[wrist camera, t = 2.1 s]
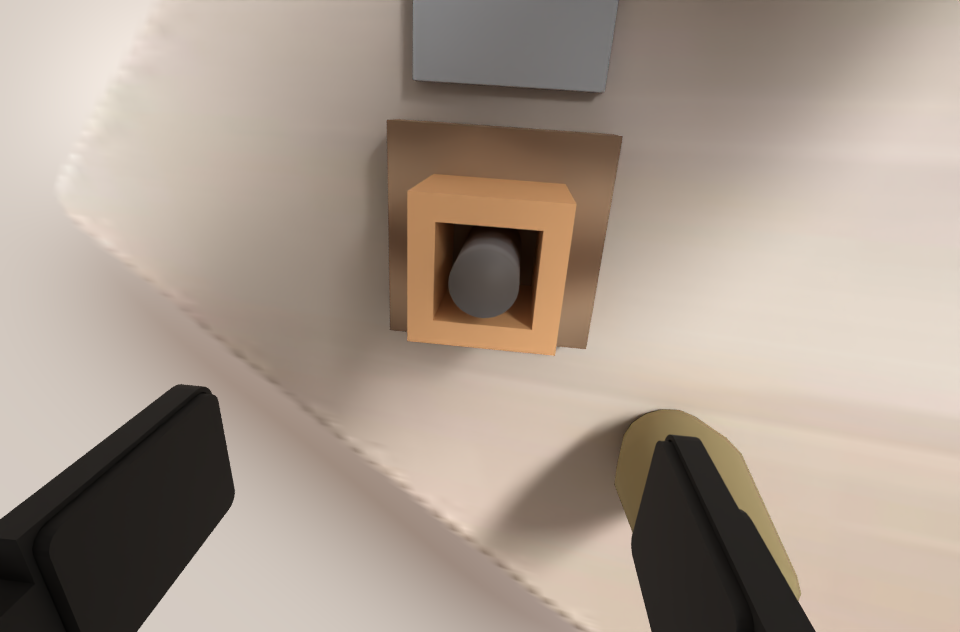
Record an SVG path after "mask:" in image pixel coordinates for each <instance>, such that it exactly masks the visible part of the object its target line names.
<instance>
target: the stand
mask: <svg viewBox="0 0 960 632" xmlns="http://www.w3.org/2000/svg"><path fill="white" fill-rule="evenodd" d="M622 137H623V136H619V135H614V134H601V133H587V132H573V131H558V130H544V129H530V128H515V127H501V126H487V125H473V124H458V123H444V122H430V121H416V120H401V119H395V120H387V162H388V224H389V285H390V330H395V331H405V332H407V191H408V190H410V189H411V188H413V187H414V186H416V185H417V184H419V183H420V182H422V181H423V180H425V179H427V178H428V177H430V176H431V175H433V174H442V175H455V176H468V177H481V178H494V179H507V180H520V181H533V182H546V183H559V184H566V186H567V187H568V189H569V191H570V193H571V195H572V197H573V199H574V200H575V202H576V204H577V205H576V212H575V219H574V226H573V233H572V240H571V247H570V254H569V261H568V268H567V275H566V282H565V289H564V296H563V303H562V310H561V317H560V324H559V330H558V337H557V344H556V346H559V347H570V348H580V349H586V345H587V340H588V334H589V328H590V322H591V317H592V311H593V305H594V299H595V293H596V288H597V282H598V276H599V270H600V265H601V259H602V253H603V247H604V241H605V236H606V230H607V224H608V218H609V212H610V207H611V201H612V195H613V189H614V184H615V178H616V172H617V166H618V160H619V155H620V149H621V143H622ZM536 237H537V230H527V229H514V228H502V227H490V226H478V225H466V224H454V237H453V262H452V270H451V272H450V275H449V281H448V287H449V292H450V295H451V297H452V300H453V301H454V303H455V304H456V305H457V306H458V307H459V308H460V309H461V310H462V311H463V312H465V313H467V314H469V315H471V316H474V317H478V318H491V317H496V316H498V315H501V314H503V313H504V312H506V311H507V310H508V309H509V308H510V307H511V306H512V305H513V303H514V302H515V300H516V298H517V295H518V292H519V285H527V286H531V281H532V272H533V263H534V255H535V246H536Z"/></svg>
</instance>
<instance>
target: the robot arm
mask: <svg viewBox="0 0 960 632" xmlns="http://www.w3.org/2000/svg"><path fill="white" fill-rule="evenodd" d="M234 494H235V489H234V484H233V478H232V473H231V468H230V462H229V457H228V451H227V446H226V440H225V435H224V429H223V424H222V418H221V413H220V408H219V402H218V399H217V397H216V396H215V395H213V394H212V393H211V391H210V390H209V389H208V388H207V387H202V386H192V385H182V384H181V385H176V386H174V387H173V388H171V389H170V390H168V391H167V392H166V393H165V394H163V395H162V396H161V397H159V398H158V399H157V400H155V401H154V402H153V403H151V404H150V405H149V406H148V407H146V408H145V409H144V410H142V411H141V412H140V413H138V414H137V415H136V416H135V417H133V418H132V419H131V420H129V421H128V422H127V423H126V424H124V425H123V426H122V427H120V428H119V429H118V430H116V431H115V432H114V433H113V434H111V435H110V436H108V437H107V438H106V439H104V440H103V441H102V442H101V443H99V444H98V445H97V446H95V447H94V448H93V449H91V450H90V451H89V452H88V453H86V454H85V455H84V456H82V457H81V458H80V459H78V460H77V461H76V462H75V463H73V464H72V465H71V466H69V467H68V468H67V469H65V470H64V471H63V472H61V473H60V474H59V475H58V476H56V477H55V478H54V479H52V480H51V481H50V482H48V483H47V484H46V485H44V486H43V487H42V488H41V489H39V490H38V491H37V492H36V493H34V494H33V495H31V496H30V497H29V498H28V499H26V500H25V501H24V502H22V503H21V504H20V505H18V506H17V507H16V508H14V509H13V510H12V511H11V512H9V513H8V514H7V515H5V516H4V517H3V518H2V519H0V632H137V631H138V629H139V628H140V627H141V625H142V624H143V622H145V620H146V619H147V617H148V616H149V615H150V613H151V612H152V611H153V610H154V608H155V607H156V606H157V604H158V603H159V602H160V600H161V599H162V598H163V596H164V595H165V594H166V592H167V591H168V589H169V588H170V587H171V586H172V584H173V583H174V582H175V580H176V579H177V578H178V576H179V575H180V574H181V572H182V571H183V570H184V568H185V567H186V566H187V564H188V563H189V562H190V560H191V559H192V558H193V556H194V555H195V554H196V552H197V551H198V550H199V548H200V547H201V546H202V544H203V543H204V542H205V540H206V539H207V538H208V536H209V535H210V534H211V532H212V531H213V530H214V528H215V527H216V526H217V524H218V523H219V522H220V520H221V519H222V518H223V517H224V515H225V514H226V513H227V511H228V510H229V508H230V507H231V505H232V503H233V500H234ZM631 549H632V556H633V560H634V564H635V568H636V572H637V576H638V580H639V584H640V587H641V591H642V595H643V599H644V603H645V607H646V611H647V615H648V619H649V623H650V627H651V631H652V632H815V630H814V628H813V626H812V625H811V623H810V621H809V619H808V618H807V616H806V614H805V612H804V611H803V609H802V607H801V605H800V604H799V602H798V600H797V598H796V597H795V595H794V593H793V591H792V590H791V588H790V586H789V584H788V583H787V581H786V579H785V577H784V576H783V574H782V572H781V570H780V569H779V567H778V565H777V563H776V562H775V560H774V558H773V556H772V555H771V553H770V551H769V549H768V548H767V546H766V544H765V542H764V541H763V539H762V537H761V535H760V534H759V532H758V530H757V528H756V527H755V525H754V523H753V521H752V520H751V518H750V517H749V516H748V514H747V513H746V512H744V511H743V510H741V509H739V508H738V506H737V504H736V502H735V501H734V499H733V497H732V495H731V493H730V492H729V490H728V488H727V486H726V484H725V483H724V481H723V479H722V477H721V475H720V474H719V472H718V470H717V468H716V466H715V465H714V463H713V461H712V459H711V457H710V456H709V454H708V452H707V450H706V448H705V447H704V445H703V443H702V441H701V440H700V439H699V438H697V437H691V436H681V435H671V434H670V435H667V437H666V438H665V441H658V442H657V443H656V445H655V449H654V453H653V457H652V460H651V464H650V468H649V472H648V476H647V480H646V484H645V487H644V491H643V495H642V499H641V503H640V507H639V511H638V514H637V518H636V522H635V526H634V530H633V534H632V540H631Z"/></svg>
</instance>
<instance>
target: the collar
mask: <svg viewBox="0 0 960 632" xmlns="http://www.w3.org/2000/svg"><path fill="white" fill-rule="evenodd" d="M576 205H577V204H576V202H575V200H574V199H573V197H572V195H571V193H570V191H569V189H568V187H567V186H566V184H559V183H546V182H533V181H520V180H507V179H494V178H481V177H468V176H455V175H442V174H433V175H431V176H430V177H428V178H427V179H425V180H423V181H422V182H420V183H419V184H417V185H416V186H414V187H413V188H411V189H410V190H408V191H407V341H412V342H423V343H433V344H443V345H453V346H463V347H473V348H483V349H494V350H504V351H514V352H524V353H534V354H544V355H554V356H555V351H556V344H557V337H558V330H559V324H560V317H561V310H562V303H563V296H564V289H565V282H566V275H567V268H568V261H569V254H570V247H571V240H572V233H573V226H574V219H575V212H576ZM454 224H466V225H478V226H490V227H502V228H514V229H527V230H537V237H536V246H535V255H534V263H533V272H532V281H531V286H527V285H519V292H518V295H517V298H516V300H515V302H514V303H513V305H512V306H511V307H510V308H509V309H508V310H507V311H506V312H504V313H503V314H501V315H498V316H496V317H491V318H478V317H474V316H471V315H469V314H467V313H465V312H463V311H462V310H461V309H460V308H459V307H458V306H457V305H456V304H455V303H454V301H453V300H452V297H451V295H450V292H449V287H448V281H449V275H450V272H451V270H452V262H453V237H454Z"/></svg>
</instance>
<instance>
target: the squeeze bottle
mask: <svg viewBox="0 0 960 632" xmlns="http://www.w3.org/2000/svg"><path fill="white" fill-rule="evenodd" d="M670 434H671V435H681V436H691V437H697V438H699V439H700V440H701V441H702V443H703V445H704V447H705V448H706V450H707V452H708V454H709V456H710V457H711V459H712V461H713V463H714V465H715V466H716V468H717V470H718V472H719V474H720V475H721V477H722V479H723V481H724V483H725V484H726V486H727V488H728V490H729V492H730V493H731V495H732V497H733V499H734V501H735V502H736V504H737V506H738V508H739V509H741V510H743V511H744V512H746V513H747V514H748V516H749V517H750V518H751V520H752V521H753V523H754V525H755V527H756V528H757V530H758V532H759V534H760V535H761V537H762V539H763V541H764V542H765V544H766V546H767V548H768V549H769V551H770V553H771V555H772V556H773V558H774V560H775V562H776V563H777V565H778V567H779V569H780V570H781V572H782V574H783V576H784V577H785V579H786V581H787V583H788V584H789V586H790V588H791V590H792V591H793V593H794V595H795V597H796V598H797V600H798V601H799V598H800V596H801V591H800V587H799V583H798V579H797V575H796V573H795V571H794V568H793V566H792V564H791V562H790V560H789V557H788V555H787V553H786V551H785V549H784V546H783V544H782V542H781V540H780V538H779V535H778V533H777V531H776V529H775V527H774V524H773V522H772V520H771V518H770V516H769V513H768V511H767V509H766V507H765V505H764V502H763V500H762V498H761V496H760V494H759V491H758V489H757V487H756V485H755V483H754V480H753V478H752V476H751V474H750V472H749V469H748V467H747V465H746V463H745V461H744V458H743V456H742V454H741V453H740V452H739V451H738V450H737V449H736V447H735V446H734V445H733V444H732V443H731V442H730V441H729V440H728V439H727V438H726V437H724V436H723V435H721V434H720V433H718V432H717V431H715V430H714V429H712V428H711V427H710V426H708V425H707V424H705V423H704V422H702V421H701V420H699V419H698V418H696V417H695V416H692V415H690V414H688V413H685V412H683V411H680V410H664V409H662V410H658V411H655V412H651V413H647V414H645V415H643V416H642V417H640V418H639V419H637V420H636V421H634V422H633V423H632V424H631V425H630V427H629V428H628V430H627V431H626V433H625V434H624V436H623V441H622V445H621V450H620V454H619V458H618V463H617V469H616V476H615V483H614V485H615V487H616V490H617V493H618V495H619V498H620V501H621V503H622V506H623V508H624V511H625V514H626V516H627V519H628V522H629V524H630V527H631V530H632V532H633V530H634V526H635V522H636V518H637V514H638V511H639V507H640V503H641V499H642V495H643V491H644V487H645V484H646V480H647V476H648V472H649V468H650V464H651V460H652V457H653V453H654V449H655V445H656V443H657V442H658V441H665V438H666V437H667V435H670Z"/></svg>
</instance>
